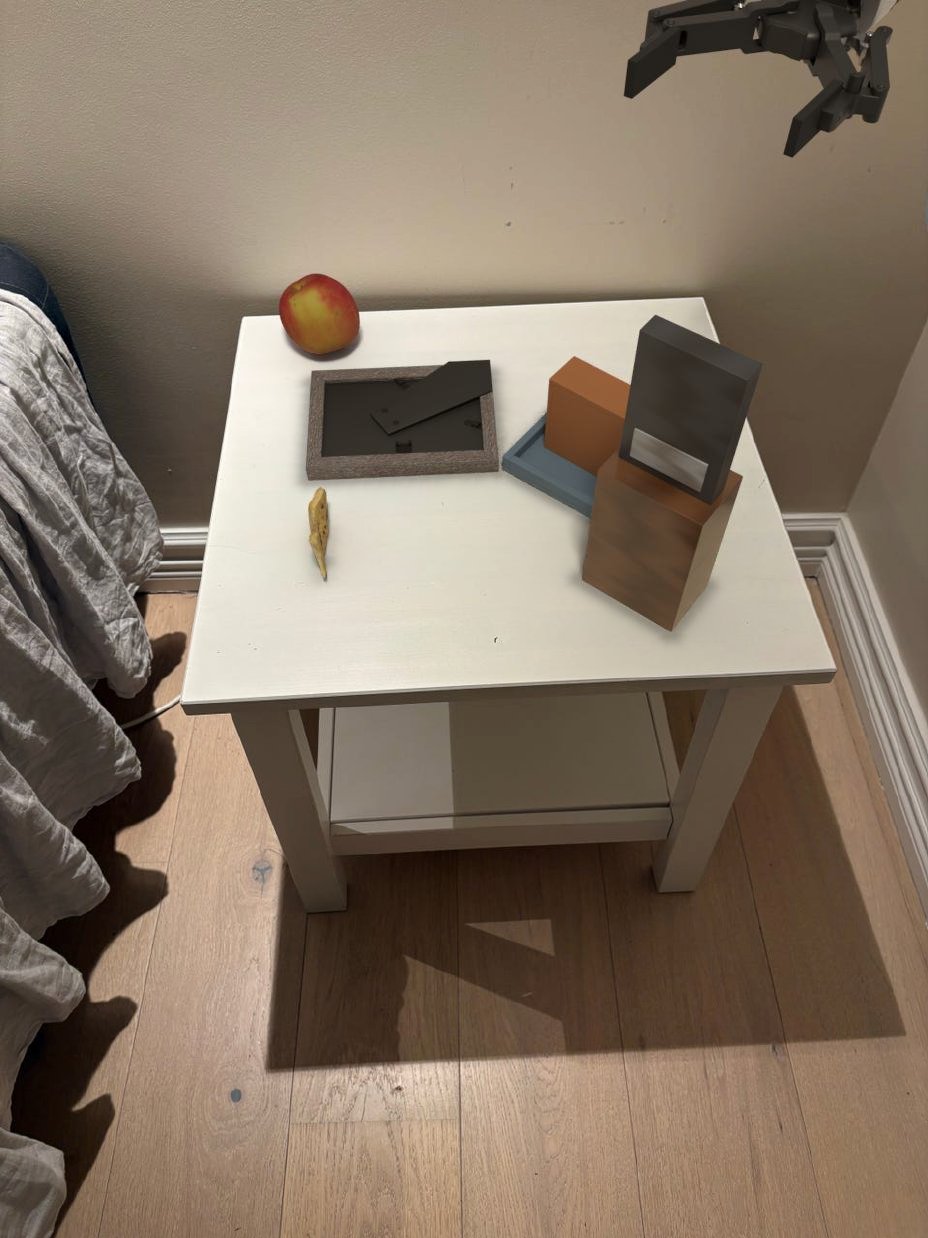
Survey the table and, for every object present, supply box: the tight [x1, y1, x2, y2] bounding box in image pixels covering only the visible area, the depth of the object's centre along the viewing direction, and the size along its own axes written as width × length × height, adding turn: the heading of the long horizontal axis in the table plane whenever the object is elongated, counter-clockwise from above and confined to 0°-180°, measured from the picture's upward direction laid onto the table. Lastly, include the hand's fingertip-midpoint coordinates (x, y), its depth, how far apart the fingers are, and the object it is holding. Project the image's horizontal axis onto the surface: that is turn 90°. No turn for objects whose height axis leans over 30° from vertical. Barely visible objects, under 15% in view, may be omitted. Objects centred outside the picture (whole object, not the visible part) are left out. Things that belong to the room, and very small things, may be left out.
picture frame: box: [305, 359, 500, 481], centre depth 94 cm, size 13×2×18 cm
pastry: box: [307, 486, 329, 579], centre depth 85 cm, size 9×2×5 cm, turn 4°
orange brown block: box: [544, 355, 631, 477], centre depth 88 cm, size 10×4×9 cm, turn 51°
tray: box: [501, 412, 597, 519], centre depth 91 cm, size 14×12×2 cm
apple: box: [278, 273, 361, 355], centre depth 98 cm, size 8×8×8 cm
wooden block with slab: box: [581, 314, 764, 632], centre depth 73 cm, size 9×6×26 cm, turn 52°
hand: (708, 107), depth 71 cm, fingers open, 13 cm apart
